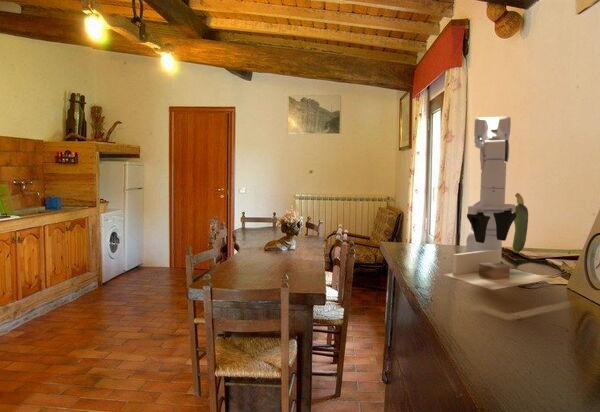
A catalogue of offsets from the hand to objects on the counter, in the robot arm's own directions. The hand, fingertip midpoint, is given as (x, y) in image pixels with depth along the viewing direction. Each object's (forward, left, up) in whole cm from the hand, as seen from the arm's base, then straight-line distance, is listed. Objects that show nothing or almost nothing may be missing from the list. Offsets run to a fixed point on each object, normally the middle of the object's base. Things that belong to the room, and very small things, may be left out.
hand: (490, 241), depth 107 cm
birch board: (+3, 0, -10) cm, 10 cm away
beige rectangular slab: (-4, 0, -9) cm, 9 cm away
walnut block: (+2, -1, -9) cm, 9 cm away
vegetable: (-17, +33, -10) cm, 38 cm away
